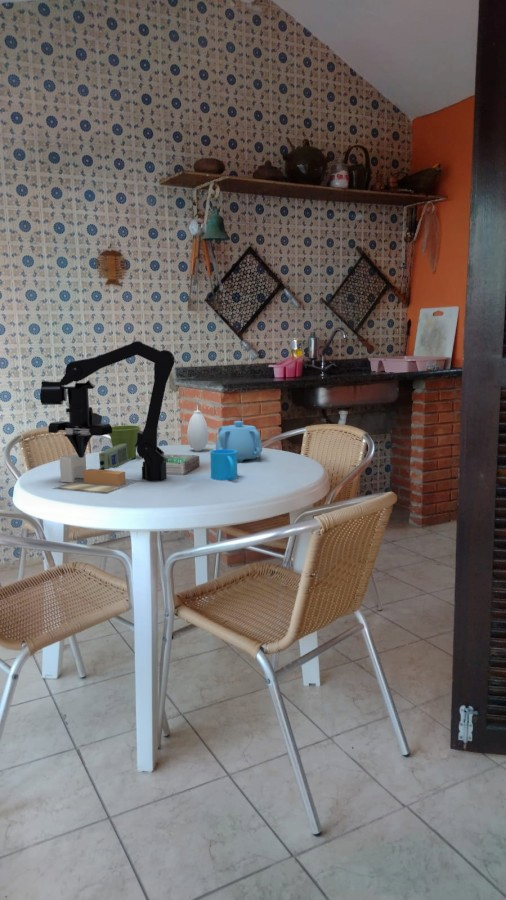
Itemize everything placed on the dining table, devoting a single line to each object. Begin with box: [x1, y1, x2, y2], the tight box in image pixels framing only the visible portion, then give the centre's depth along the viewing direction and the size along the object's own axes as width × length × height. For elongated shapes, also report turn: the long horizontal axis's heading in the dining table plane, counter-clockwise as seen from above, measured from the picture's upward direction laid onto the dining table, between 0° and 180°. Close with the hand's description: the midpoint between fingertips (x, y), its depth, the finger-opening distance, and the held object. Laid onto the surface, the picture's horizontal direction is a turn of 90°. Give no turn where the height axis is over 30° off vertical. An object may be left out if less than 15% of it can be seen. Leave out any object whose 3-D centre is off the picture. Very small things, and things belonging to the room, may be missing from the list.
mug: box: [210, 449, 238, 481], centre depth 198 cm, size 12×8×8 cm
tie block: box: [59, 452, 87, 483], centre depth 192 cm, size 4×7×7 cm, turn 158°
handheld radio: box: [98, 443, 129, 470], centre depth 215 cm, size 7×3×25 cm
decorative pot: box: [215, 420, 263, 463], centre depth 229 cm, size 16×16×14 cm
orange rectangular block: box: [83, 468, 126, 486], centre depth 188 cm, size 12×4×4 cm, turn 68°
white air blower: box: [186, 403, 209, 452], centre depth 245 cm, size 8×8×18 cm
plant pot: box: [108, 424, 141, 460], centre depth 231 cm, size 12×12×11 cm
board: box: [52, 478, 141, 495], centre depth 187 cm, size 18×18×1 cm
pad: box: [58, 482, 120, 494], centre depth 182 cm, size 16×6×1 cm, turn 68°
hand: (81, 457), depth 190 cm, fingers closed
